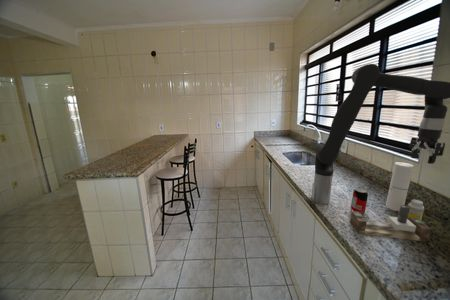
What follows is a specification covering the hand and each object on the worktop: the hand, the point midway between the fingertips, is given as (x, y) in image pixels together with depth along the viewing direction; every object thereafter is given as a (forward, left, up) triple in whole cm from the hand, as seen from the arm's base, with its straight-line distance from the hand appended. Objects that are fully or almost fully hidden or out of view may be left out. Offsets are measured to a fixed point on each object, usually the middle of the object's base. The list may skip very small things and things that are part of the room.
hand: (421, 160), depth 93 cm
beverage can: (-26, -5, -28) cm, 39 cm away
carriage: (-15, -21, -25) cm, 36 cm away
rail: (-20, -21, -28) cm, 40 cm away
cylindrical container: (-5, +2, -28) cm, 29 cm away
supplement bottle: (-3, -9, -28) cm, 30 cm away
